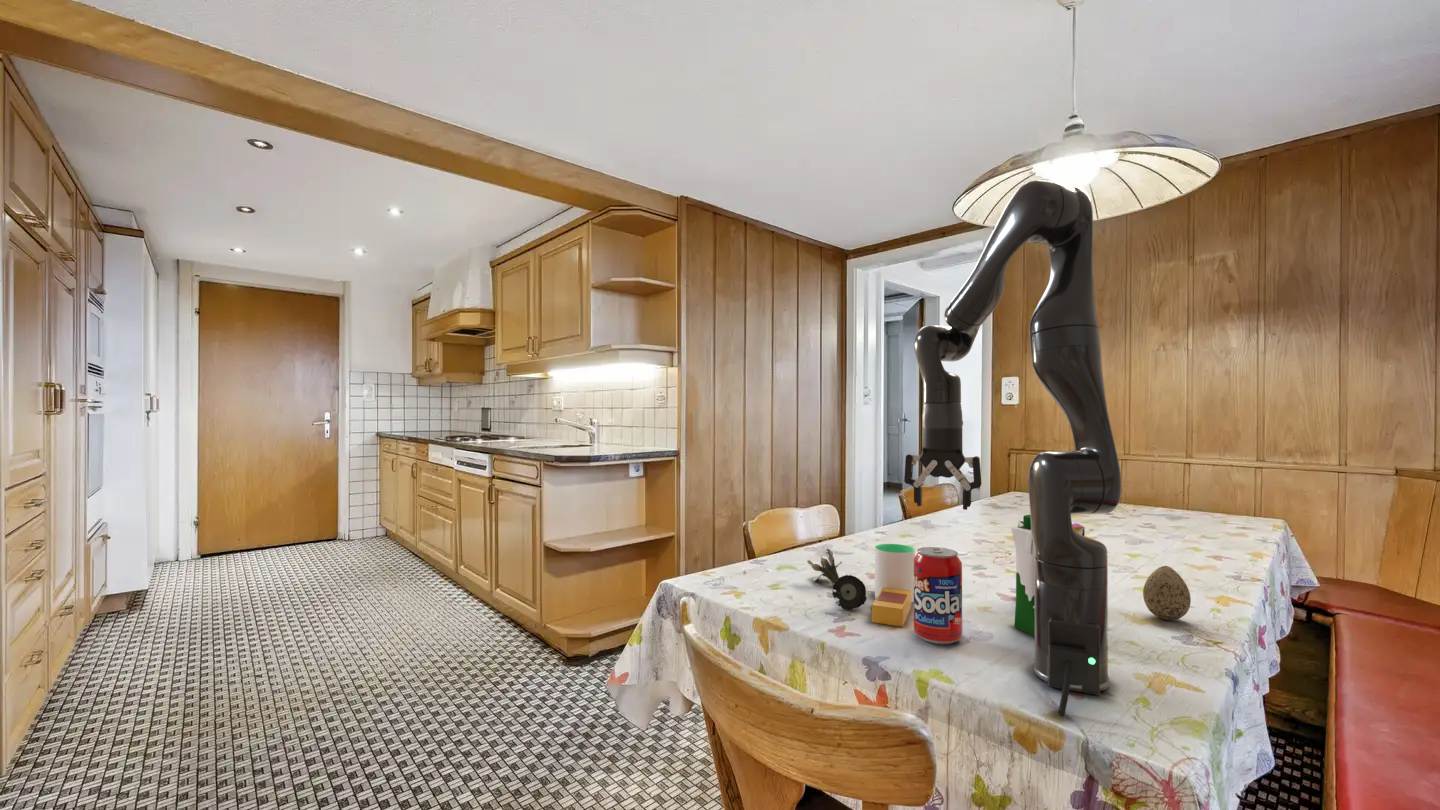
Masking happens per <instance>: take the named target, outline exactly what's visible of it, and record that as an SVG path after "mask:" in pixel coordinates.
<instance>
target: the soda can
mask: <svg viewBox="0 0 1440 810" xmlns="http://www.w3.org/2000/svg"><path fill="white" fill-rule="evenodd" d="M958 554H959V553H958V551H956V550H953V549H951V548H945V547H938V546H937V547H936V546H925V547H920V548H918V549H917V554H915V558H914V602H913V632H914V633H915V635H916V636H918V638H921V639H922V640H923V641H926V642H927V643H931V644H934V645H951V644H954V643H956V642H959V641H960V640H961V639H962V638H963V562H962V560H961V559H960V558H959V556H958Z"/></svg>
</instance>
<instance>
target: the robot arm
mask: <svg viewBox="0 0 1440 810" xmlns="http://www.w3.org/2000/svg"><path fill="white" fill-rule="evenodd" d="M1093 213H1094V211H1093V204H1092V200H1091V198H1090V196H1089V194H1088V192H1087V191H1086V190H1085V189H1084V188H1082V187H1080V186H1077V185H1073V184H1068V183H1067V184H1065V183H1060V182H1054V181H1047V180H1040V179H1039V180H1037V179H1036V180H1030V181H1028V182H1025V183H1024V184H1022V185H1021V186H1020V187H1019V188H1017V190H1016V191H1015V192H1014V194H1013V195H1012V196H1011V198H1010V199H1009V201H1008V202H1007V204H1006V206H1005V208H1004V209H1003V211H1002V213H1001V214H1000V217H999V219H998V221H997V222H996V225H995V226H994V229H993V231H992V232H991V234H990V236H989V238H988V240H987V242H986V243H985V246H984V248H983V250H982V252H981V254H980V256H979V259H978V260H977V263H976V264H975V266H974V268H973V270H972V271H971V273H970V275H969V276H968V278H967V279H966V280H965V282H964V283H963V285H962V286H961V287H960V288H959V290H958V291H957V293H956V294H955V296H954V297H953V298H952V299H951V301H950V302H949V304H948V305H947V307H946V309H945V310H944V314H943V316H944V320H945V322H946V324H947V325H931V324H930V325H925V326H922V327H921V328H920V329H918V331H917V333H916V335H915V338H914V341H913V348H914V355H915V358H916V361H917V366H918V369H919V372H920V376H921V380H922V383H923V384H922V385H923V403H922V404H923V405H922V407H923V408H922V414H921V447H922V448H921V454H920V455H919V454H918V455H917V454H913V453H908V454H906V456H905V464H904V479H903V482H904V483H905V484H906V485H909V486H912V488H913V503H914V504H916V506H917V507H922V506H923V486H922V484H923V483H924V482H925V481H926V480H927V479H928V477H929V476H931V477H933V478H940V477H942V478H947V479H948V478H952V477H954V478H955V480H957V482H958V483H959V484H960V485H961V486H962V488H963V490H962V510H965V511H967V510H968V508H970V507H971V505H972V490H975V489H979V488H981V486H982V471H981V470H982V469H981V458H980V456H978V455H974V456H965V455H964V453H963V426H964V420H963V409H962V381H961V377H960V376H959V375H958V374H955V373H952V372H949V371H947V370H946V369H945V367H944V364H943V362H958V361H960V360H962V359H963V358H965V357H966V356H967V355H968V354H969V353H970V351H971V350H972V348H973V346H974V345H973V344H974V342H975V341H976V340H975V339H976V337H977V335H978V333H979V330H980V328H981V326H982V325H983V324H984V323H985V321H986V320H987V319H988V317H990V315H991V314H992V313H993V312H994V310H995V309H996V308H997V307H998V305H999V303H1000V302H1001V300H1002V298H1003V296H1004V292H1005V288H1006V287H1005V286H1006V275H1007V269H1008V265H1009V263H1010V261H1011V259H1012V258H1013V257H1014V255H1016V253H1017V251H1019V250H1020V249H1021V248H1022V247H1023V246H1024V245H1025V244H1026V243H1031V244H1039V245H1045V246H1046V247H1047V250H1048V256H1049V257H1048V258H1049V279H1048V282H1047V286H1046V288H1045V290H1044V292H1043V294H1042V295H1041V297H1040V299H1039V301H1038V303H1037V305H1036V307H1035V309H1034V311H1033V312H1032V315H1031V318H1030V321H1029V325H1028V337H1029V338H1028V339H1029V348H1030V359H1031V360H1030V361H1031V366H1032V369H1033V371H1034V374H1035V375H1036V377H1037V379H1038V380H1039V382H1040V383H1041V384H1042V386H1043V388H1044V389H1045V390H1046V391H1047V392H1048V394H1049V395H1050V396H1051V398H1052V399H1053V400H1054V401H1055V403H1056V404H1057V405H1058V407H1059V408H1060V409H1061V411H1062V413H1063V414H1064V416H1065V418H1066V419H1067V422H1068V424H1069V428H1070V431H1071V435H1072V440H1073V445H1074V450H1048V451H1040V452H1039V453H1037V454H1036V455H1035V456H1034V457H1033V458H1032V460H1031V462H1030V463H1031V464H1030V465H1029V470H1028V500H1029V515H1030V517H1031V534H1032V539H1033V543H1034V551H1035V636H1034V663H1033V672H1034V674H1035V676H1037V678H1039V679H1040V680H1042V681H1044V682H1045V683H1046V684H1048V685H1047V686H1049V687H1050V688H1054V689H1055V688H1056V689H1061V696H1060V700H1059V701H1060V702H1059V707H1058V711H1057V714H1058V715H1059V716H1061V717H1064V716H1065V714H1066V709H1067V704H1068V699H1069V693H1070V691H1073V692H1078V693H1083V694H1090V695H1095V696H1100V695H1101V692H1103V691H1106V690H1108V689H1109V687H1110V678H1109V638H1108V637H1109V634H1108V633H1109V629H1108V628H1109V626H1108V625H1109V623H1108V619H1109V618H1108V615H1109V614H1108V613H1109V612H1108V610H1109V609H1108V608H1109V605H1108V602H1109V601H1108V600H1109V599H1108V596H1109V595H1108V579H1109V578H1108V577H1109V576H1108V574H1109V573H1108V572H1109V571H1108V569H1109V568H1108V567H1109V566H1108V564H1109V563H1108V562H1109V561H1108V559H1109V558H1108V557H1109V555H1108V549H1107V547H1106V545H1105V544H1104V543H1103V542H1101V541H1099V540H1097V539H1095V538H1091V537H1089V536H1086V535H1084V536H1082V535H1080V534H1079V533H1077V532H1076V531H1075V530H1074V529H1073V526H1072V522H1073V520H1072V515H1107V514H1110V513H1111V512H1113V511H1115V510H1116V508H1117V507H1118V505H1119V504H1120V501H1121V497H1122V491H1123V485H1122V473H1121V465H1120V461H1119V456H1118V453H1117V447H1116V443H1115V439H1114V438H1115V437H1114V434H1113V430H1112V426H1111V421H1110V415H1109V411H1108V410H1109V409H1108V405H1107V404H1108V403H1107V397H1106V390H1105V382H1104V374H1103V372H1104V371H1103V362H1102V361H1103V360H1102V347H1101V337H1100V330H1099V328H1100V327H1099V323H1098V322H1099V321H1098V317H1097V316H1098V315H1097V307H1096V297H1095V296H1096V295H1095V281H1094V268H1093V267H1094V266H1093V264H1094V263H1093V251H1094V249H1093V246H1094V245H1093V244H1094V243H1093V242H1094V215H1093ZM918 461H919V462H920V463H921V465H922V466H923V468H924V470H923V471H922V472H921V473H920V475H919V476H918V477H917V478H916V479H915V478H913V475H914V473H913V472H914V466H916V465H917V463H918ZM965 463H967V464H968V468H971V469H972V473H973V481H971V482H970V481H969V480H968V479H967V477H966V476H965V474H964V473H963V472H962V470H961V468H962V467H963V465H964V464H965Z"/></svg>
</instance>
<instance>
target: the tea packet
mask: <svg viewBox="0 0 1440 810" xmlns="http://www.w3.org/2000/svg"><path fill="white" fill-rule="evenodd" d="M911 608H912V603H911V591H909V590H901V589H893V588H885V587H883V589H882V590H881V592H880V593H879V595H878V596H877V598H875V600H873V602H872V604H871V623H876V624H882V625H888V626H896V627H904V624H905V622H906V620H907V618H908V615H909V613H910V611H911V610H912V609H911Z"/></svg>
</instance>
